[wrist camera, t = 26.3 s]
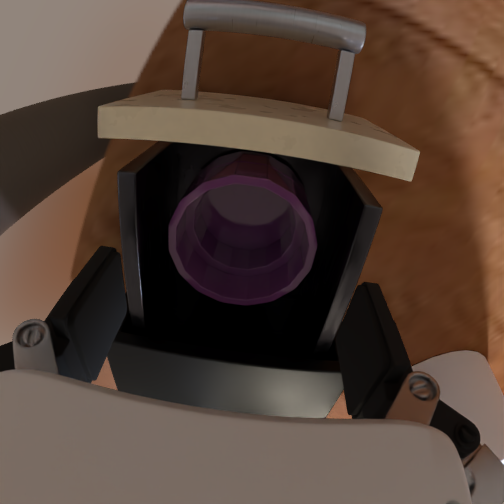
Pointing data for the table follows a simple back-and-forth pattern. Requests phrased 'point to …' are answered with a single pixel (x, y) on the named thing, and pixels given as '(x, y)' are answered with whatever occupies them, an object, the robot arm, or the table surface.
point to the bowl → (243, 230)
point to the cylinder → (470, 393)
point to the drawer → (257, 141)
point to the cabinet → (224, 376)
